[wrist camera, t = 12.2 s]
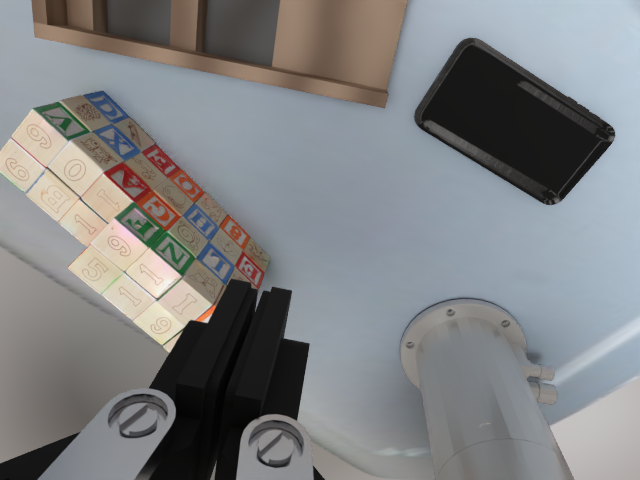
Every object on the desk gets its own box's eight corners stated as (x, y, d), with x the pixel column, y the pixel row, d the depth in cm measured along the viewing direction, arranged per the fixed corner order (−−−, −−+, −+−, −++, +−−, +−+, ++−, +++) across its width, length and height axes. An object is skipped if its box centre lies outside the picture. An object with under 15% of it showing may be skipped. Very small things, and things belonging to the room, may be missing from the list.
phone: (553, 209, 39) (409, 122, 37) (548, 205, 40) (408, 119, 38) (622, 131, 36) (469, 30, 34) (615, 128, 37) (466, 30, 35)
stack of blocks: (63, 135, 41) (-47, 175, 30) (103, 88, 39) (0, 112, 28) (230, 292, 47) (189, 373, 36) (273, 258, 45) (244, 334, 34)
